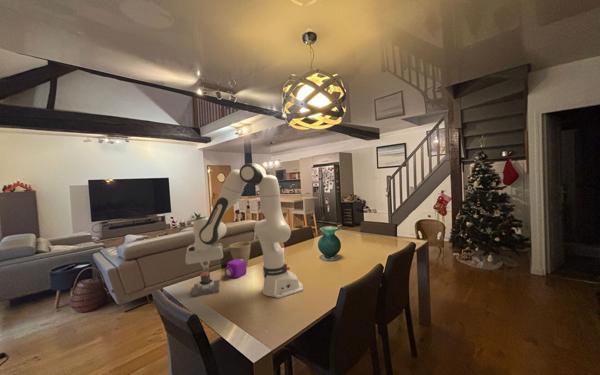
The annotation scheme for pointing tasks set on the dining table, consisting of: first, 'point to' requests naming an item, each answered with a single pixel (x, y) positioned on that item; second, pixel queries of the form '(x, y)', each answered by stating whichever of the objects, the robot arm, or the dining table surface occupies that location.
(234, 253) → the plant pot
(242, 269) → the toy camera
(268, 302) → the dining table surface
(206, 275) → the dome-topped dark cylinder
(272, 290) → the robot arm
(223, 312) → the dining table surface
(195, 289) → the octagon ring plate
